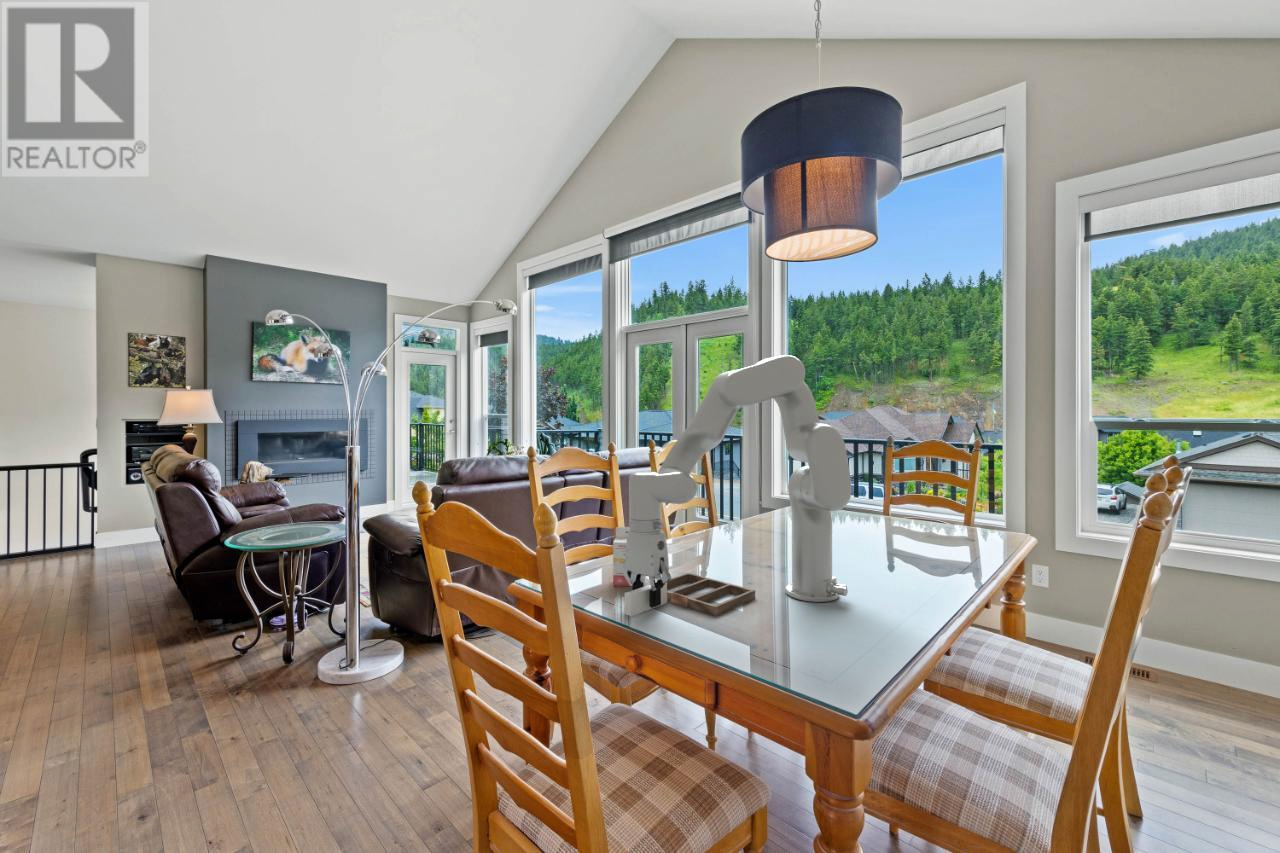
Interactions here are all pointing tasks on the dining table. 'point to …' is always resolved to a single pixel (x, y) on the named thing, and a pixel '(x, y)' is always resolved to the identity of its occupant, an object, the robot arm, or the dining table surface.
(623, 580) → the ink cartridge box
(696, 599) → the rack
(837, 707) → the dining table surface
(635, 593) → the panel
